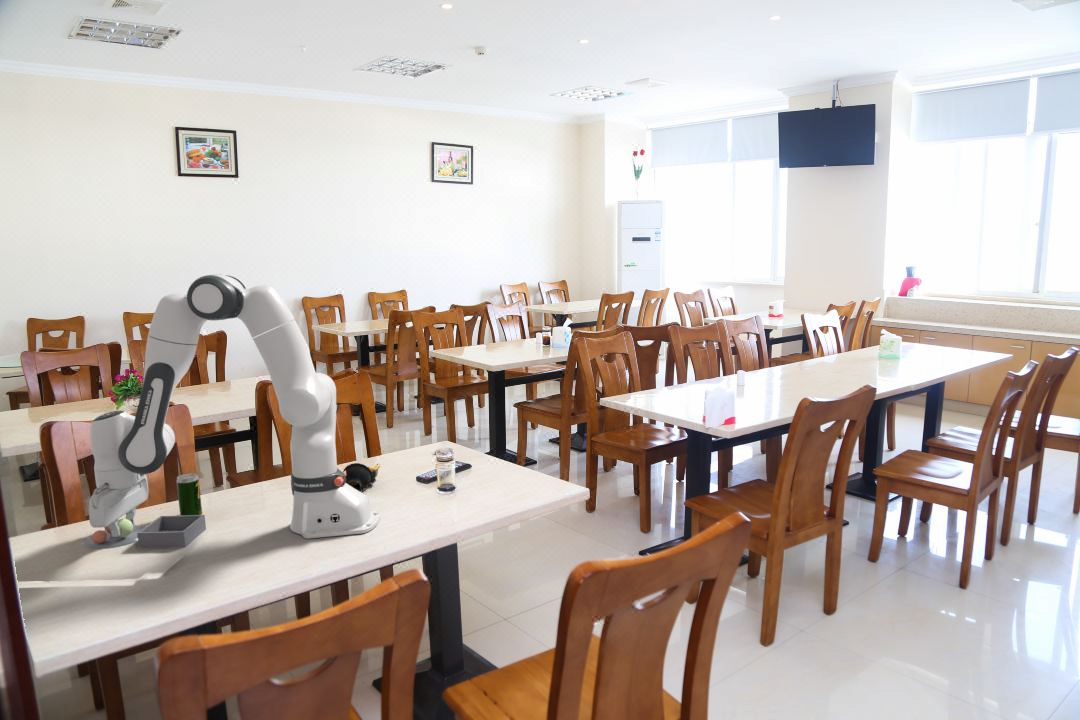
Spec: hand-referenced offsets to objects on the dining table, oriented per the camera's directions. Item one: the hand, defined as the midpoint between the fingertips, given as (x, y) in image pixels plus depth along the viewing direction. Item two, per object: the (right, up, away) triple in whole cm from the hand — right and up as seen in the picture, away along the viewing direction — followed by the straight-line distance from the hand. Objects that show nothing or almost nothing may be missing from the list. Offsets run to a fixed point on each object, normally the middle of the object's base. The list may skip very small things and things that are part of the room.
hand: (123, 530), depth 187 cm
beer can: (+10, -1, +15) cm, 18 cm away
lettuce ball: (0, -1, 0) cm, 1 cm away
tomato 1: (-4, -2, -3) cm, 6 cm away
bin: (+13, -3, -1) cm, 13 cm away
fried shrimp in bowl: (+51, +4, +39) cm, 65 cm away
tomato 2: (-5, -1, +4) cm, 7 cm away
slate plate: (-2, -3, +2) cm, 4 cm away
